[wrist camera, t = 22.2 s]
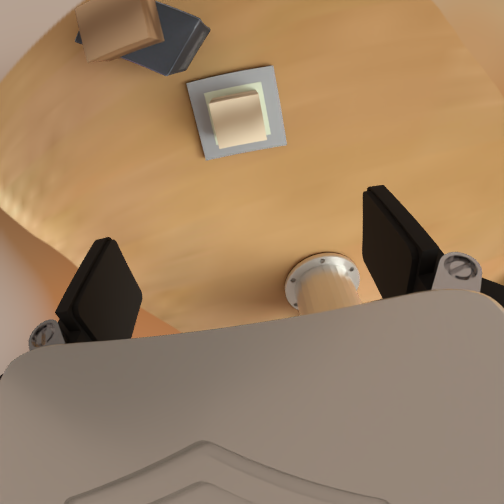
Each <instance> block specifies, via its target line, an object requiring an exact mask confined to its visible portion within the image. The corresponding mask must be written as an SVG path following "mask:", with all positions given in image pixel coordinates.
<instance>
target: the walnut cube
mask: <svg viewBox="0 0 504 504" xmlns="http://www.w3.org/2000/svg"><path fill="white" fill-rule="evenodd" d="M75 12H76V17H77V22H78V26H79V31H80V35H81V39H82V44H83V48H84V52H85V56H86V60H87V63H88V62H98V61H110V60H114V59H116V58H119V57H121V56H124V55H126V54H129V53H132V52H134V51H137V50H140V49H143V48H146V47H148V46H151V45H154V44H157V43H161V42H164V41H165V40H164V36H163V32H162V28H161V24H160V20H159V15H158V11H157V7H156V3H155V0H90V1H88V2H86V3H84V4H82V5H80V6H78V7H76V8H75Z"/></svg>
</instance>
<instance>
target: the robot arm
mask: <svg viewBox="0 0 504 504" xmlns="http://www.w3.org/2000/svg"><path fill="white" fill-rule="evenodd" d="M362 255H363V260H364V262H365V264H366V266H367V268H368V270H369V272H370V274H371V276H372V278H373V280H374V282H375V284H376V286H377V288H378V290H379V292H380V294H381V296H382V298H383V299H380V300H376V301H371V302H367V303H361V300H360V298H359V295H358V293H357V289H358V286H359V282H360V275H359V272H358V269H357V267H356V265H355V264H354V263H353V261H352V260H351V259H349V258H348V257H346V256H344V255H341V254H337V253H321V254H317V255H313V256H311V257H308V258H306V259H304V260H303V261H301V262H300V263H298V264H297V265H296V266H295V267H294V268H293V269H292V270H291V272H290V273H289V274H288V277H287V279H286V282H285V294H286V298H287V300H288V302H289V303H290V304H291V306H293V307H294V308H295V309H297V310H299V314H300V316H295V317H290V318H284V319H278V320H272V321H266V322H260V323H253V324H247V325H240V326H233V327H226V328H219V329H212V330H204V331H196V332H188V333H180V334H171V335H163V336H153V337H143V338H132V339H131V337H132V333H133V330H134V325H135V322H136V319H137V315H138V312H139V309H140V305H141V302H142V292H141V290H140V288H139V286H138V284H137V282H136V280H135V279H134V277H133V275H132V273H131V271H130V269H129V267H128V265H127V263H126V261H125V259H124V257H123V255H122V253H121V251H120V249H119V246H118V244H117V242H116V241H115V240H112V239H111V238H110V237H106V238H102V239H98V240H96V241H95V242H94V243H93V245H92V247H91V248H90V250H89V252H88V253H87V255H86V257H85V258H84V260H83V262H82V263H81V265H80V267H79V269H78V270H77V272H76V274H75V276H74V278H73V279H72V281H71V283H70V285H69V287H68V288H67V290H66V292H65V294H64V296H63V298H62V300H61V302H60V304H59V306H58V308H57V309H56V312H55V313H56V315H57V316H58V317H59V321H58V323H57V321H55V320H47V321H44V322H43V323H41V324H40V325H38V326H37V327H36V328H35V329H34V331H33V332H32V334H31V335H30V338H29V349H30V351H29V352H26V353H25V354H22V355H20V356H19V357H17V358H16V359H14V360H13V361H12V362H11V363H10V364H9V365H8V367H7V369H6V370H5V372H4V374H2V375H1V376H0V504H504V286H503V285H500V284H498V283H495V282H492V281H489V280H487V279H484V278H482V268H481V266H480V264H479V263H478V262H477V261H476V260H475V259H474V258H472V257H471V256H469V255H467V254H464V253H459V252H450V253H447V254H445V255H444V254H443V252H442V251H441V250H440V249H439V247H438V246H437V244H436V243H435V242H434V241H433V239H432V238H431V237H430V236H429V235H428V233H427V232H426V231H425V230H424V229H423V228H422V226H421V225H420V224H419V223H418V222H417V221H416V220H415V218H414V217H413V216H412V215H411V214H410V213H409V212H408V211H407V210H406V208H405V207H404V206H403V205H402V204H401V203H400V202H399V201H398V200H397V199H396V198H395V197H394V195H393V194H392V193H391V192H390V191H389V190H388V189H387V188H386V187H385V186H384V185H379V186H372V187H368V188H367V191H365V192H363V244H362Z"/></svg>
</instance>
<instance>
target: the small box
mask: <svg viewBox="0 0 504 504" xmlns="http://www.w3.org/2000/svg"><path fill="white" fill-rule="evenodd" d="M155 3H156V7H157V11H158V15H159V20H160V24H161V28H162V32H163V36H164V40H165V41H164V42H161V43H157V44H154V45H151V46H148V47H146V48H143V49H140V50H137V51H134V52H132V53H129V54H126V55H124V56H121V57H120V58H123V59H126V60H128V61H131V62H133V63H136V64H138V65H141V66H143V67H146V68H148V69H150V70H153V71H155V72H157V73H160V74H162V75H164V76H168V75H171V74H174V73H178V72H182V71H185V70H186V69H187V68H188V66H189V64H190V63H191V61H192V60H193V58H194V56H195V54H196V53H197V51H198V49H199V48H200V46H201V45H202V43H203V41H204V40H205V38H206V37H207V35H208V33H209V32H210V28H209V27H207V26H206V25H205V24H204V23H203V22H202V21H201V19H200V18H198V17H196V16H193V15H191V14H189V13H186V12H184V11H181V10H179V9H176V8H173V7H171V6H168V5H166V4H163V3H160V2H157V1H155ZM75 42H77V43H80V44H82V39H81V35H80V31H79V32H78V34H77V36H76V39H75Z"/></svg>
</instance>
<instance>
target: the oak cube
mask: <svg viewBox="0 0 504 504" xmlns="http://www.w3.org/2000/svg"><path fill="white" fill-rule="evenodd" d="M209 107H210V111H211V116H212V120H213V124H214V128H215V133H216V137H217V141H218V145H219V149H222V148H227V147H232V146H237V145H242V144H247V143H253V142H258V141H264V140H267V137H266V131H265V126H264V120H263V115H262V110H261V104H260V99H259V94H258V92H257V91H256V90H251V91H245V92H240V93H235V94H230V95H225V96H220V97H215V98H212V100H211V101H210V103H209Z"/></svg>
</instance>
